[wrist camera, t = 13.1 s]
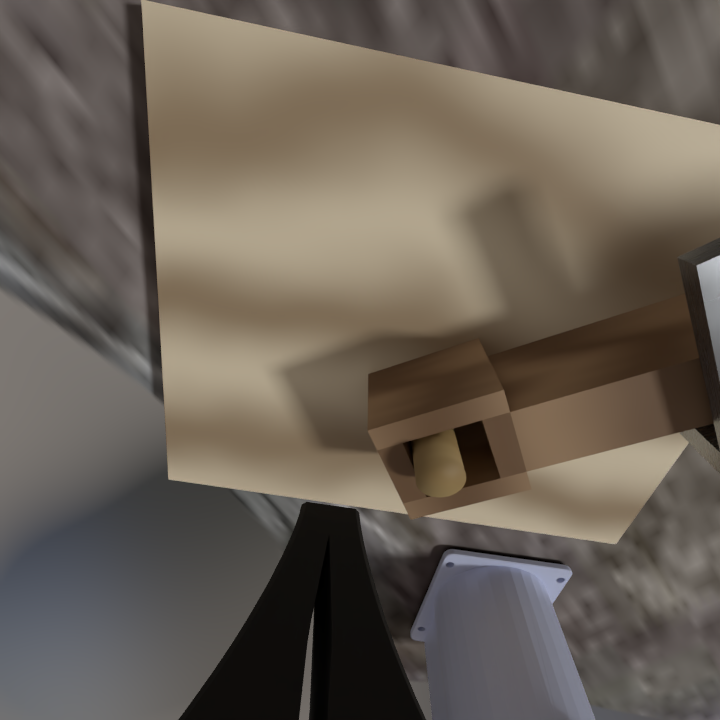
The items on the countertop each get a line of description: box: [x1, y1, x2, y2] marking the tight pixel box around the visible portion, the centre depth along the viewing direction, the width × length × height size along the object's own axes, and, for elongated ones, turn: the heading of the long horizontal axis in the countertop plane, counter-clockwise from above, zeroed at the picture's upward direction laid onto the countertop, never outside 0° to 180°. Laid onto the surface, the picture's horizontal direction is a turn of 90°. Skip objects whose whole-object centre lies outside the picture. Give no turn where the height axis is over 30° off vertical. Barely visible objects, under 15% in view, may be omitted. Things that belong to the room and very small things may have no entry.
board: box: [141, 0, 720, 544], centre depth 17 cm, size 20×25×6 cm
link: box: [367, 294, 714, 519], centre depth 17 cm, size 14×5×4 cm, turn 112°
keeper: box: [677, 238, 720, 473], centre depth 15 cm, size 10×2×5 cm, turn 30°
